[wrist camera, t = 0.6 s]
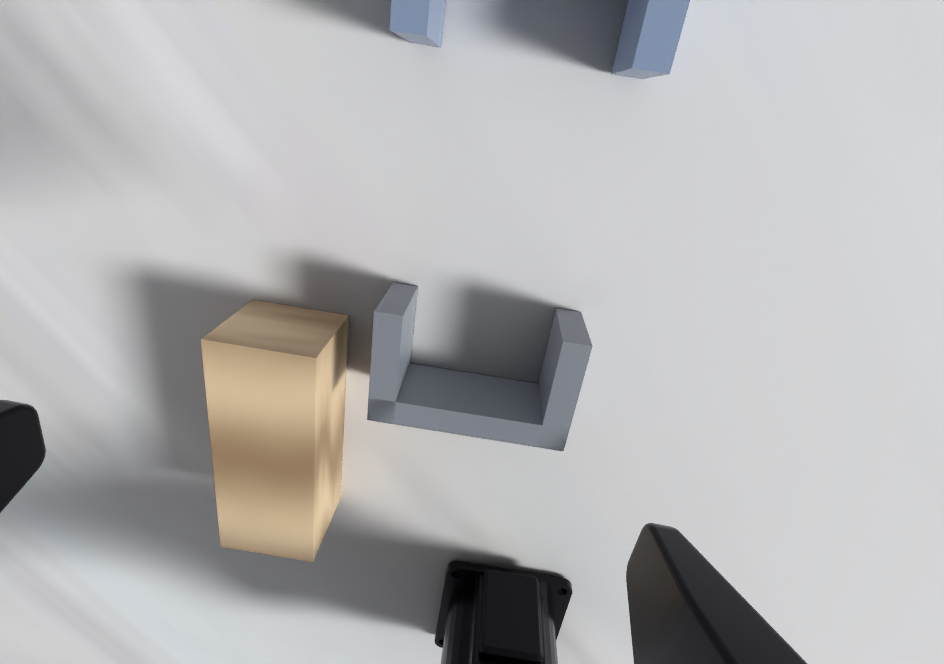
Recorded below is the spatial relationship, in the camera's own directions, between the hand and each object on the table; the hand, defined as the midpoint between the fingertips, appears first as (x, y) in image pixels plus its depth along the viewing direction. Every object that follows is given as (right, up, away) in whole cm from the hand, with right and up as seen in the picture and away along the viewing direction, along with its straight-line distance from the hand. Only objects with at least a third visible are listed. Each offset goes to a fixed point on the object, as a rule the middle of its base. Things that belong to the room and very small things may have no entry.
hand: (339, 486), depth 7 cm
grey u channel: (+2, +2, +13) cm, 14 cm away
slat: (-6, -1, +15) cm, 16 cm away
